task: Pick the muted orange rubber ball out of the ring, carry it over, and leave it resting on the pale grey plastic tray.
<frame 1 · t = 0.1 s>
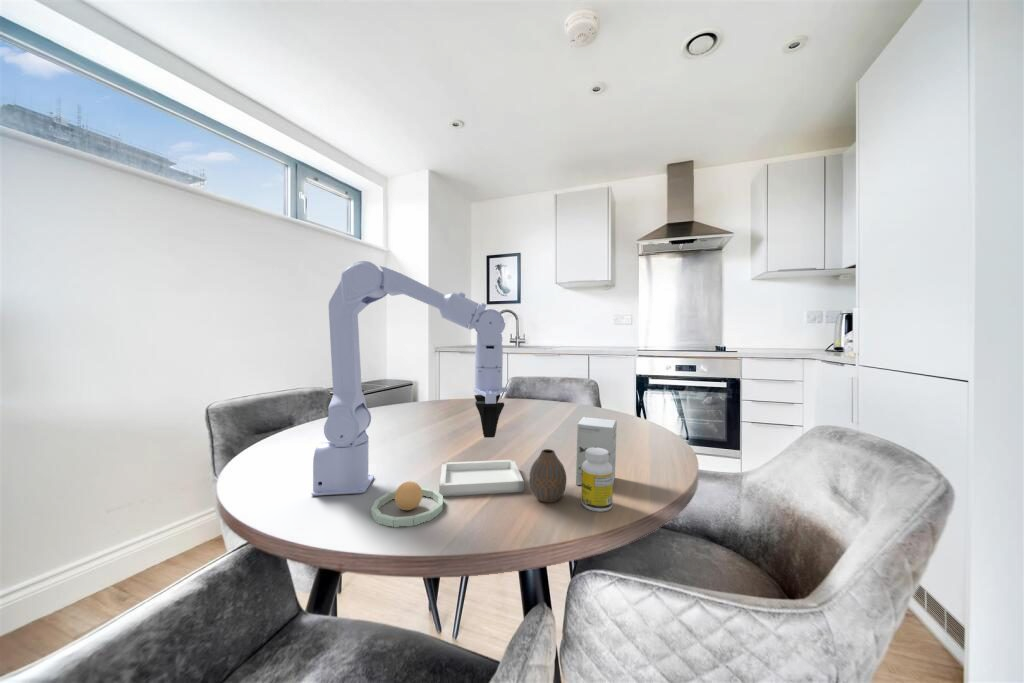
hand: (488, 431, 73), 10 cm above the table, tool pointing down, fingers open, 7 cm apart
ball: (408, 495, 61), point 2 cm above the table
supplement box: (596, 482, 73), on the table
vase: (547, 498, 66), on the table
supplement bottle: (596, 506, 63), on the table
ring: (408, 508, 61), on the table
tray: (480, 481, 73), on the table
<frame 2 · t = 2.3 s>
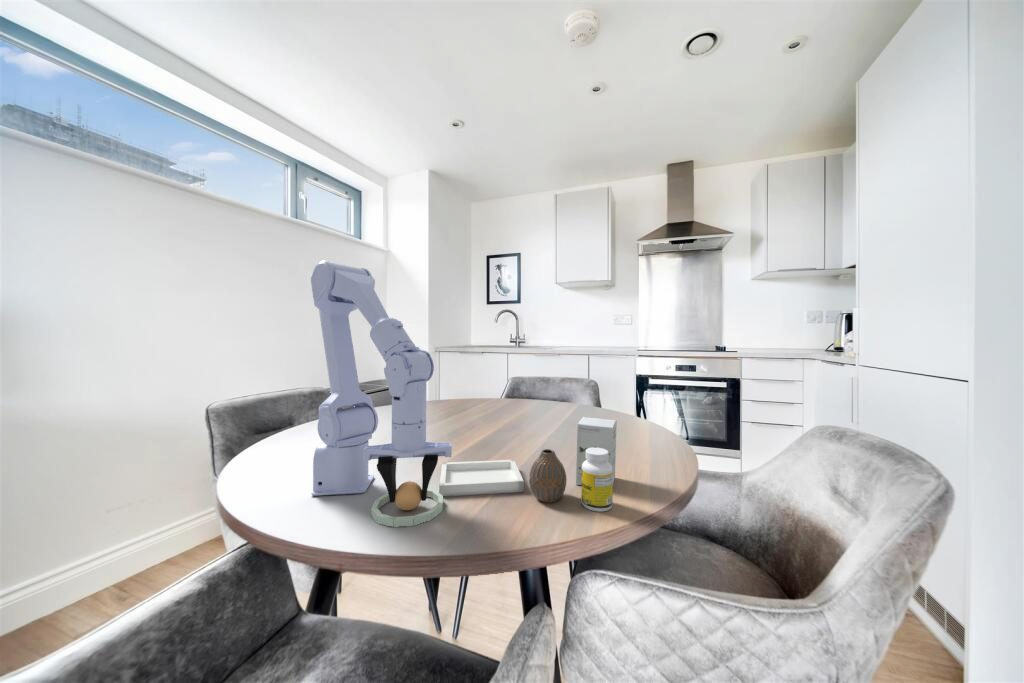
hand: (408, 499, 61), 2 cm above the table, tool pointing down, fingers closed on ball, 5 cm apart
ball: (408, 495, 61), point 2 cm above the table, touching gripper
everything else where it was.
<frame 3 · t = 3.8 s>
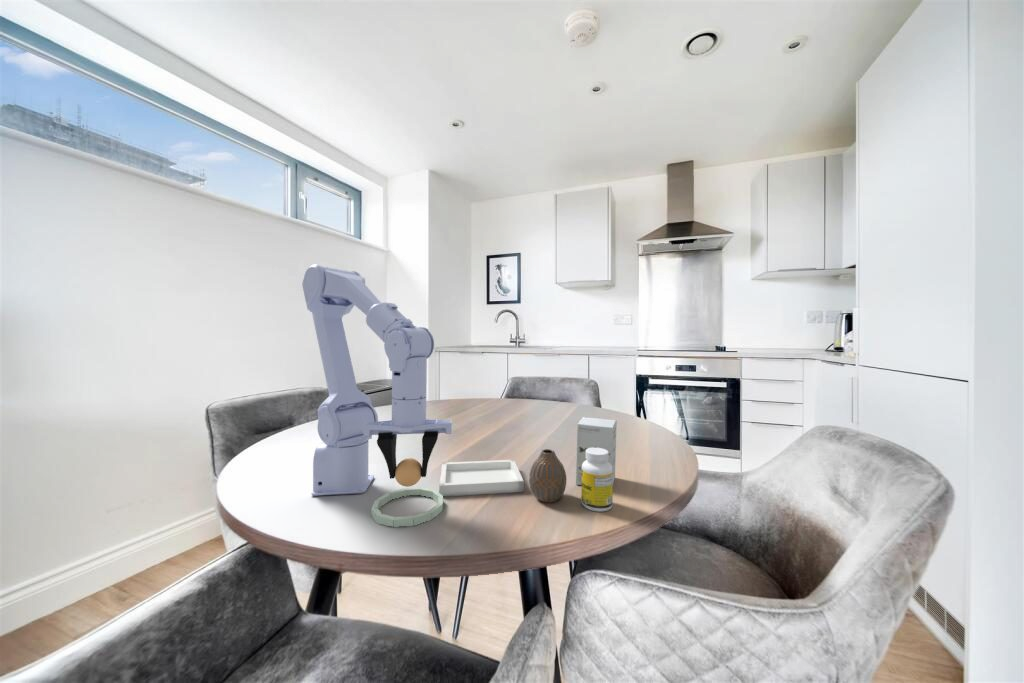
hand: (408, 475, 61), 6 cm above the table, tool pointing down, fingers closed on ball, 5 cm apart
ball: (408, 472, 61), point 6 cm above the table, touching gripper
everything else where it was.
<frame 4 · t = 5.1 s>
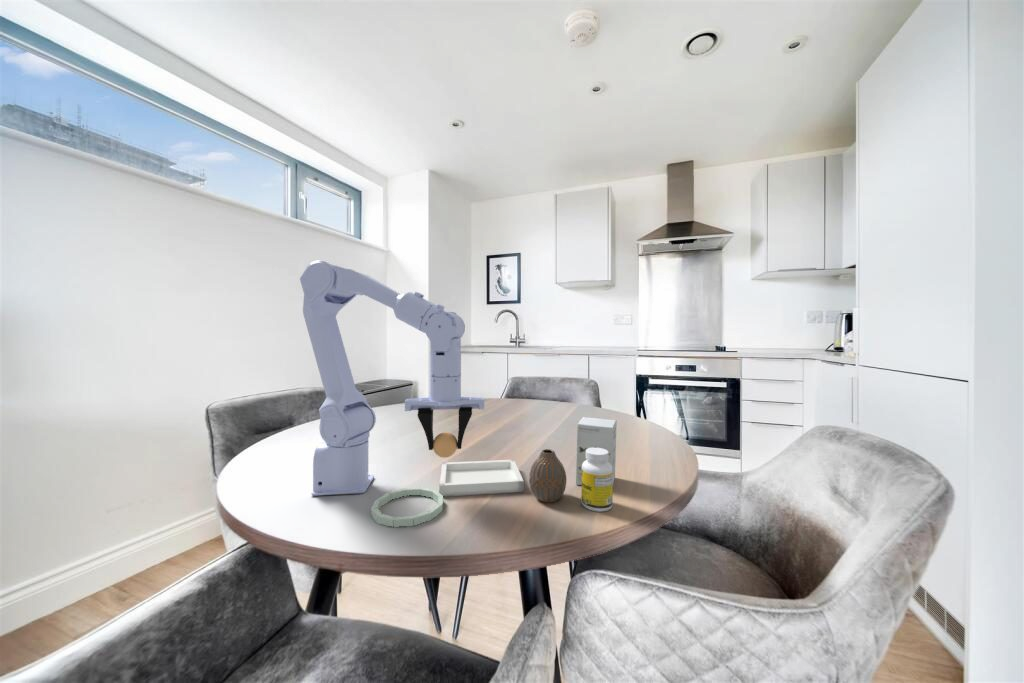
hand: (445, 447, 66), 9 cm above the table, tool pointing down, fingers closed on ball, 5 cm apart
ball: (445, 444, 66), point 10 cm above the table, touching gripper
everything else where it was.
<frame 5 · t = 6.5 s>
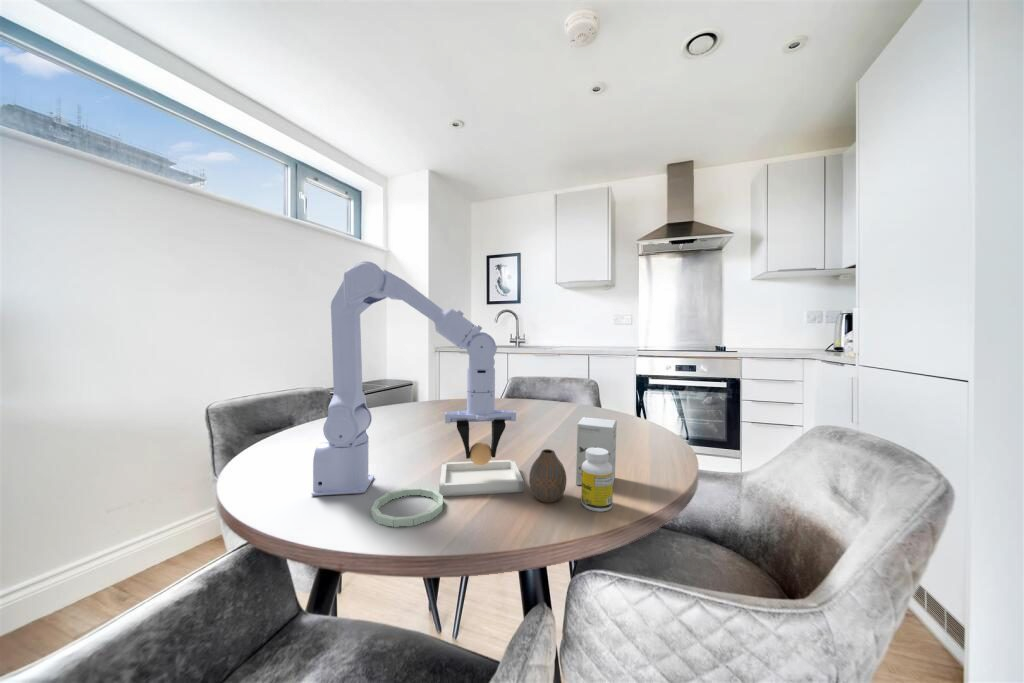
hand: (480, 456, 73), 5 cm above the table, tool pointing down, fingers closed on ball, 5 cm apart
ball: (480, 453, 72), point 6 cm above the table, touching gripper
everything else where it was.
when the fingers open (3 cm above the table, at t = 7.7 s): ball stays where it is, resting on tray.
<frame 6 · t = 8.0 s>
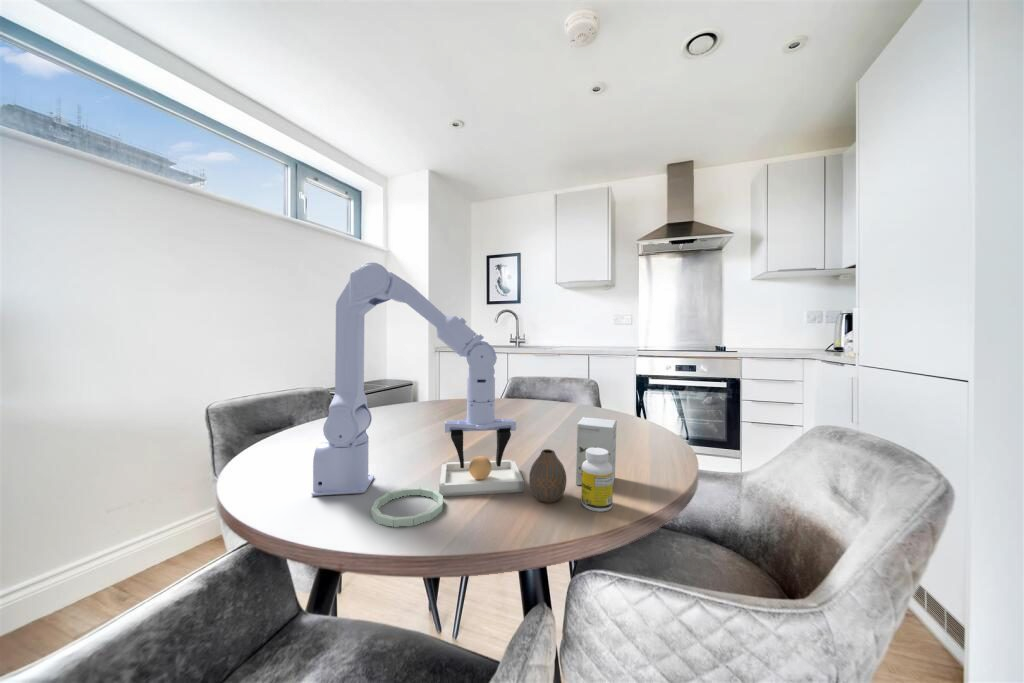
hand: (480, 465, 73), 3 cm above the table, tool pointing down, fingers open, 7 cm apart
ball: (480, 467, 73), point 3 cm above the table, touching tray
everything else where it was.
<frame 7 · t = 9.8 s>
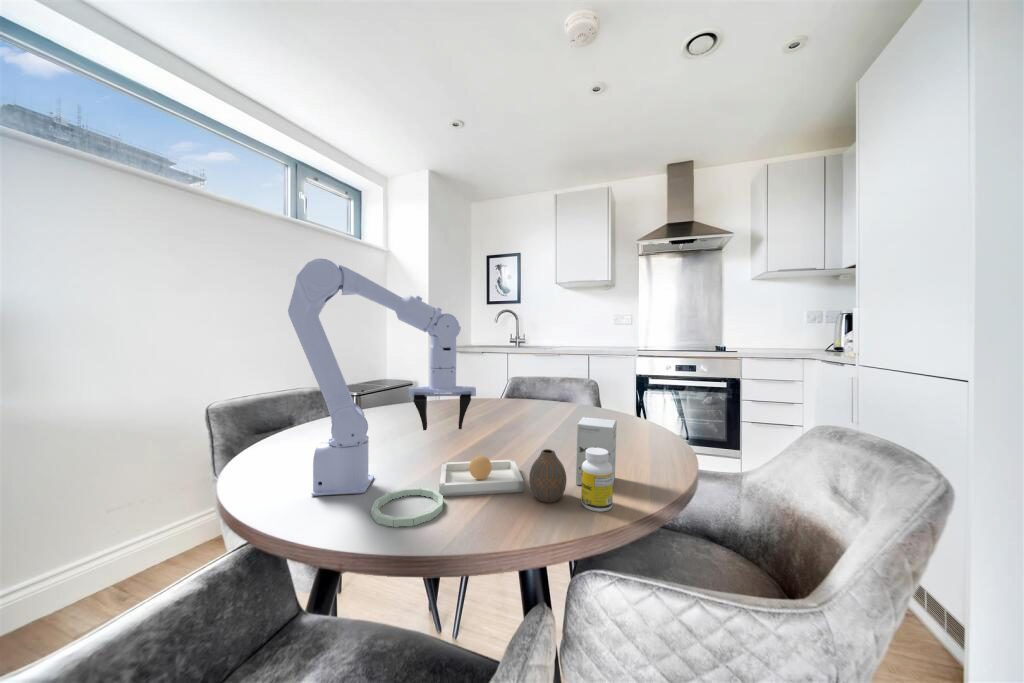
hand: (442, 428, 78), 9 cm above the table, tool pointing down, fingers open, 7 cm apart
nothing on the table moved.
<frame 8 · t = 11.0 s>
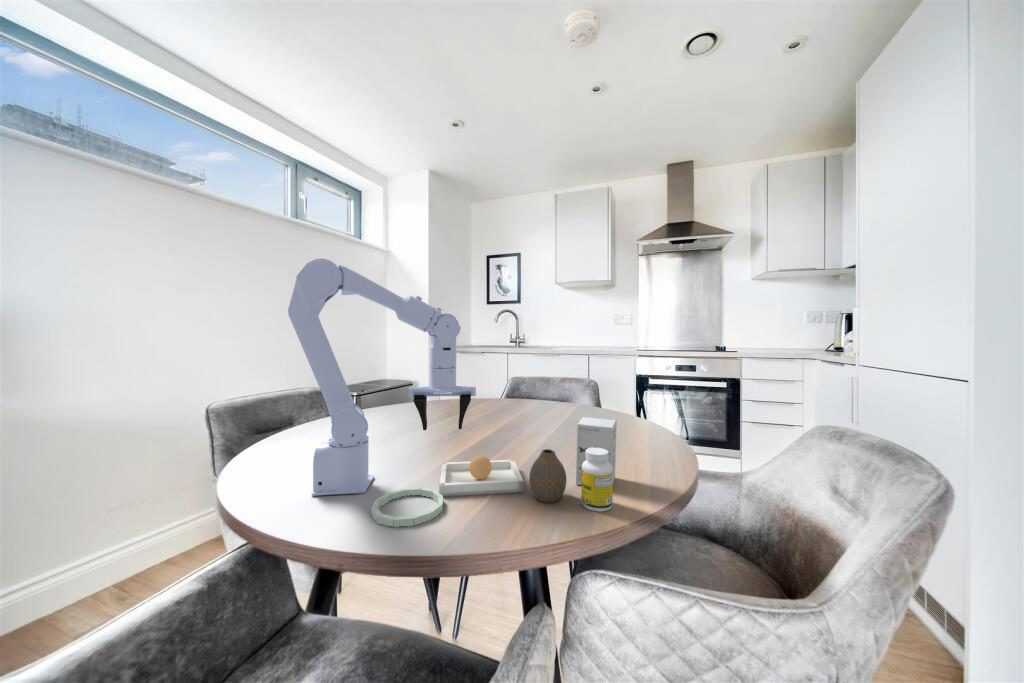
hand: (442, 428, 78), 9 cm above the table, tool pointing down, fingers open, 7 cm apart
nothing on the table moved.
at the end: ball inside the target area on the tray (0.1 cm from its centre), point 2.9 cm above the tray's base; ball moved 16.4 cm from its start; the gripper is holding nothing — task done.
